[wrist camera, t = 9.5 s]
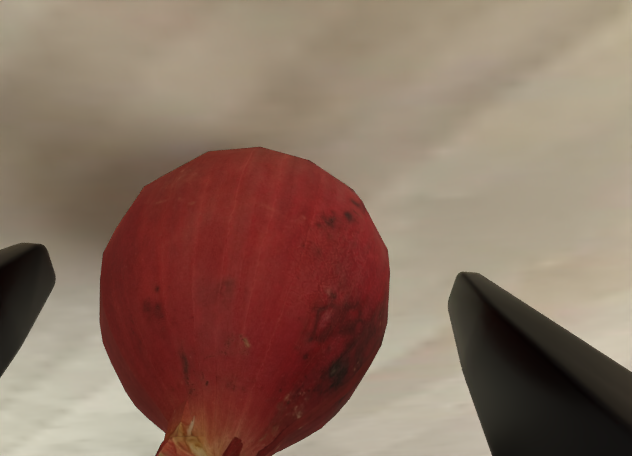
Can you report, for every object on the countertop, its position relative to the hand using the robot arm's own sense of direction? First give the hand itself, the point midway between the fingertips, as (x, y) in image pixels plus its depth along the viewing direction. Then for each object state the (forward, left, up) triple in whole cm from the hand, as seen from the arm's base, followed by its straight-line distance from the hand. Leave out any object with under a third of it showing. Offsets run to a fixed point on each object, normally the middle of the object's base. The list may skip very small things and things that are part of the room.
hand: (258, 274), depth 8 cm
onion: (0, 0, -4) cm, 4 cm away
